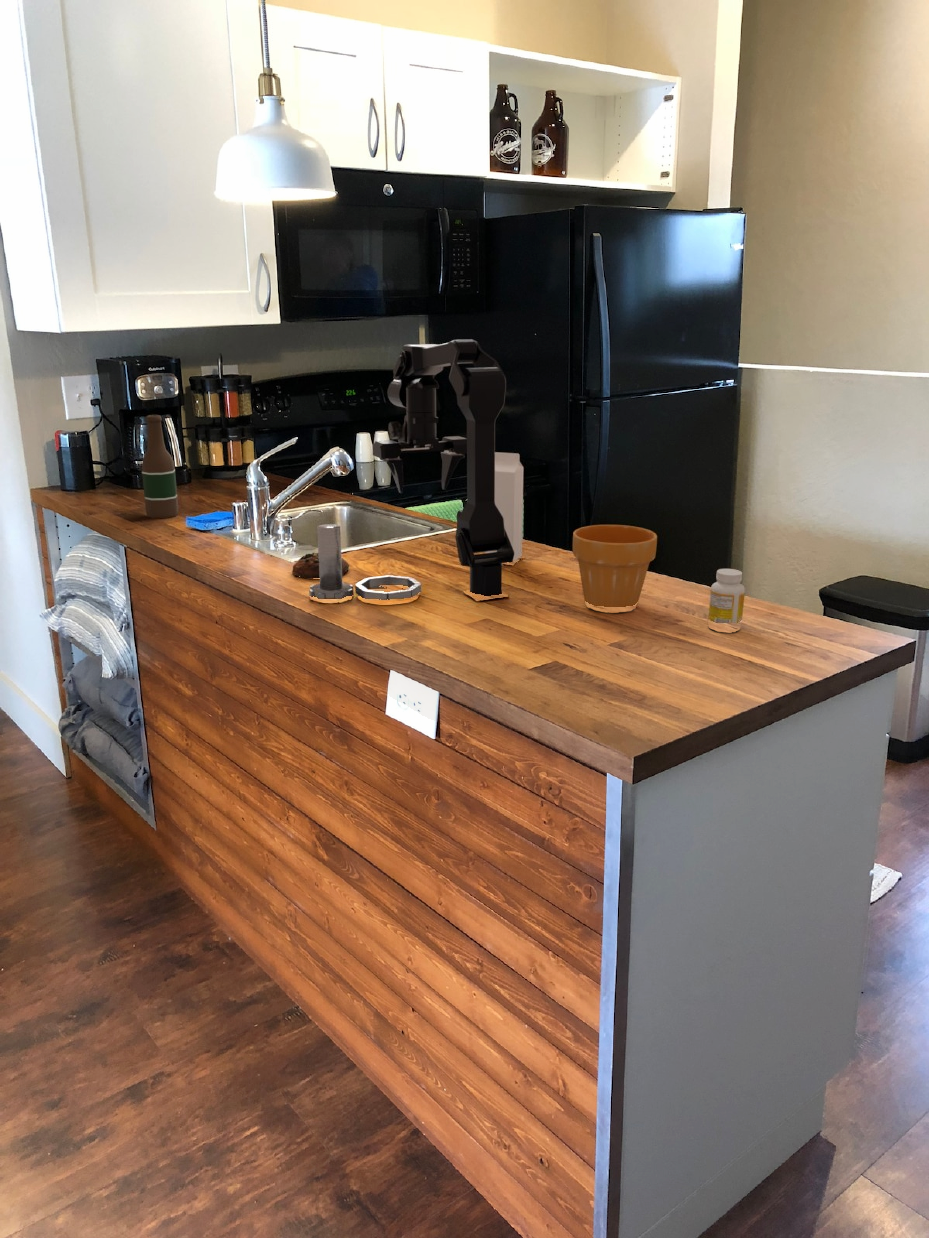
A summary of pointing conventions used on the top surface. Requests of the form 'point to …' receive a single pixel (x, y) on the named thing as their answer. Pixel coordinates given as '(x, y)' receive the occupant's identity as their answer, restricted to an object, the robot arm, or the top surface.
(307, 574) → the bread roll
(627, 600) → the flower pot
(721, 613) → the supplement bottle
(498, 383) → the robot arm
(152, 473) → the beer bottle
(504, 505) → the milk
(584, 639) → the top surface
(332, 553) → the grey cylinder with base
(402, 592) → the grey octagonal ring
